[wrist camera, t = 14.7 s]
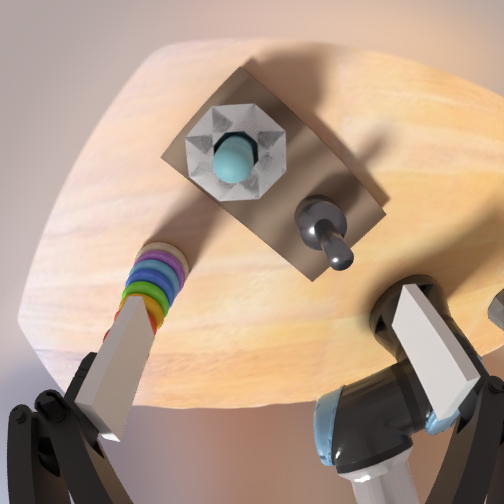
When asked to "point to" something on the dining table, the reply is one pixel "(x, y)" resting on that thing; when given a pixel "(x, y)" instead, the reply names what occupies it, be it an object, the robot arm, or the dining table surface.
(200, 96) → the dining table surface
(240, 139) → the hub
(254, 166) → the steel ring
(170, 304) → the stacking toy
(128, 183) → the dining table surface
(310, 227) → the stand rod
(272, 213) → the walnut board
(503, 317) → the coffeepot
